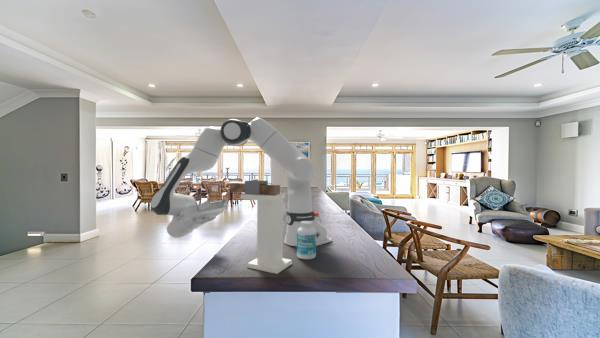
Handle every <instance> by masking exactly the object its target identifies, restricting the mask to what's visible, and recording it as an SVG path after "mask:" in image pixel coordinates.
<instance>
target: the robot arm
mask: <svg viewBox="0 0 600 338" xmlns="http://www.w3.org/2000/svg"><path fill="white" fill-rule="evenodd" d="M248 141H250V142H253V143H254V144H255V145H257V147H259V148H260V150H262V151H263V152H264V154H266V155H267V156H268V157H269V158H270V159H271V160H272V161H273V162H274V163H276V165H278V167H280V168H281V169H282V170H283V172H285V173H286V181H287V182H286V185H287V186H286V187H287V211H286V231H285V236H284V239H283V243H284V245H285V244H286V245H287V246H292V247H297V230H298V228H300V227H301V222H302V221H311V222H313V226H312V227H313V228H315V229H316V247H317V246H321V245H324V244H327V243H331V242H333V239H332V237H330V236H328V232H327V228H326V226H324V225H323V224H322V223H321V222H319V221H318V220H317V219H316V217H317V218H318V217H319V216H320V213H319V212H318V211H315V212H314V211H313V209H312V208H313V207H312V206H313V203H312V202H313V197H312V196H313V194H312V186H311V179H312V177H313V176H314V173H315V166H314V163H313V162H312V160H311V159H310V158H308V157H307V156H306V155H305V154H304V153H302V151H300V149H298V148H297V147H296V146H295V145H293V144H292V143H291V142H290V141H289V140H288V139H287V138H286V137H284V135H283V134H282V133H281V132H280V131H279V130H277V128H275V127H274V126H273V125H272V124H271V123H269V122H268V121H266V120H265V119H264V118H262V117H256V118H254V119H252V120H251V121H250V122H247V121H244V120H240V119H235V118H229V119H227V120H225V121H224V122H223V123H222V125H221V126H220V128H218V127H215V126H208V127H205V128H204V130H202V132H201V133H200V135H199V137H198V138H197V141H196V142H195V144H194V147H193V148H192V150H191V152H189V153H188V154H187V155H186V156H183V157H181V158H180V159H179V160H178V161H177V162H176V164H175V165H174V167H173V168H172V169H171V171H170V172H169V174H168V176H166V179H165V180H164V182H163V183H162V185H161V186H160V188H159V189H158V190H157V191H156V192H155V193H154V195H152V198H151V200H150V208H151V210H152V212H154V213H155V215H158V216H173V217H172V219H171V221H170V222H169V223H168V224H167V226H166V232H167V234H168V235H169V236H170V237H172V238H173V239H174V238H175V239H180V238H183V237H185V236H187V235H188V234H191V233H192V232H193V231H195V230H196V229H198V228H200V227H201V226H203V225H205V224H206V223H208V222H211V221H213V220H215V219H217V216H220V214H222V213H223V212H224V211H225V210H227V209H228V208H229V205H228V202H229V199H228V197H223V198H222V199H221V200H216V201H210V200H206V201H204V202H202V203H198V202H197V200H196V198H195V197H194V196H193V195H189V194H183V193H177V192H175V191H176V189H177V187H178V186H179V184H180V183H181V181H182V180H183V178H185V176H187V175H189V174H193V173H199V172H200V173H201V172H207V171H209V170H211V169H212V168H214V166H215V165H216V163H217V162H218V159H219V157H220V155H221V153H222V150H223V148H224V147H226V146H232V147H241V146H243V145H245V144H246V143H247V142H248Z"/></svg>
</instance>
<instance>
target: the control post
mask: <svg viewBox="0 0 600 338" xmlns="http://www.w3.org/2000/svg"><path fill="white" fill-rule="evenodd" d="M244 184H245V193H242V194H240V200H251V201H252V200H253V201H257V202H256V203H257V204H256V205H257V206H256V208H257V210H256V211H257V213H256V214H257V215H256V221H257V223H256V224H257V225H256V226H257V227H256V228H257V229H256V230H257V232H256V234H257V235H256V236H257V237H256V241H257V242H256V248H257V249H256V250H257V252H256V258H254V259H253V260H251V261H249V262H247V268H249V269H253V270H257V271H261V272H262V271H263V272H267V273H270V274H276V275H278V274H280V272H282V271H283V270H285V269H287V268H289V267H290V266H291V265H292V264H293V260H292V259H290V258H284V257H283V255H284V254H283V253H284V251H283V250H284V247H283V243H284V237H283V236H284V235H283V234H284V229H283V227H284V226H283V223H284V222H283V220H284V218H283V217H284V216H283V215H284V202H283V201H284V200H283V199H285V198H286V194H285V193H281V192H280V194H276V195H274V194H260V184H264V185H269V183H268V180H259V179H256V180H254V179H253V180H245V181H244Z"/></svg>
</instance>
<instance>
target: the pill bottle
mask: <svg viewBox="0 0 600 338" xmlns="http://www.w3.org/2000/svg"><path fill="white" fill-rule="evenodd" d="M312 226H313V222H311V221H302V222H301V227H300V228H298V230H297V246H296V257H297V258H298V259H300V260H312V259H315V258H316V256H317V246H316V229H315V228H313V227H312Z"/></svg>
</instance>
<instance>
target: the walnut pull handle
mask: <svg viewBox="0 0 600 338" xmlns="http://www.w3.org/2000/svg"><path fill="white" fill-rule="evenodd" d="M229 192H232V193H242V194H245V183H240V182H239V183H237V182H234V183H233V182H232V183H229ZM280 193H281V185H280V184H268V185H264V184H260V194H274V195H276V194H280Z"/></svg>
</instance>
